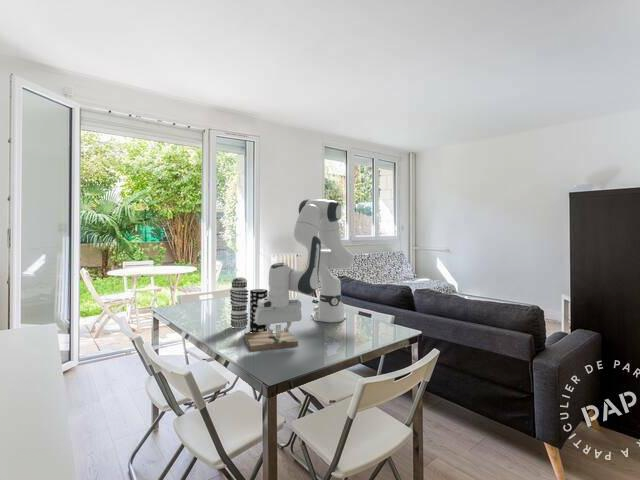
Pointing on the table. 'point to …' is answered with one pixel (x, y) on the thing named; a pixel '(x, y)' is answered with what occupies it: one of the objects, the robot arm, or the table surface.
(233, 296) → the decorative candle
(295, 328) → the table surface
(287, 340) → the dial board
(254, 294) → the spotted tube
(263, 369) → the table surface
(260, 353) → the table surface
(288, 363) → the table surface
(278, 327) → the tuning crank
